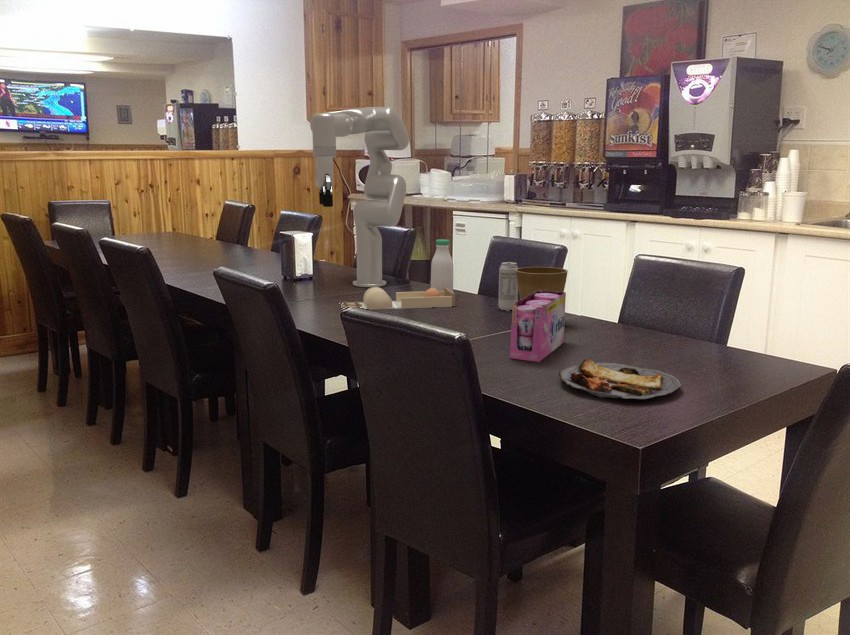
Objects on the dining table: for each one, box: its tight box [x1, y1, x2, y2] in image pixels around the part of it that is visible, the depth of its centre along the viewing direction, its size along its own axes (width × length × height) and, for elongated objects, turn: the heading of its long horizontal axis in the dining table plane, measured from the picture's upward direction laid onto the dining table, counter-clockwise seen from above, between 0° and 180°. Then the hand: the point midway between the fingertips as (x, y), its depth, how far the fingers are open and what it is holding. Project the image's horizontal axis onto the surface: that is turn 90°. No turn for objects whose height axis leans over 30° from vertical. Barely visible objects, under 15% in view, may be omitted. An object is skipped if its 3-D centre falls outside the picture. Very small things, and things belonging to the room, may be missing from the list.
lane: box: [338, 287, 456, 311], centre depth 251 cm, size 11×36×8 cm, turn 102°
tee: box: [340, 300, 362, 308], centre depth 248 cm, size 7×7×1 cm
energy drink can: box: [497, 261, 519, 312], centre depth 244 cm, size 6×6×15 cm
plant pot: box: [516, 266, 568, 300], centre depth 224 cm, size 15×15×16 cm
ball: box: [425, 287, 440, 297], centre depth 253 cm, size 5×5×5 cm
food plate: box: [558, 358, 682, 400], centre depth 165 cm, size 25×23×4 cm
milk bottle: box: [430, 238, 454, 292], centre depth 263 cm, size 8×8×20 cm
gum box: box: [509, 290, 567, 363], centre depth 194 cm, size 24×8×14 cm, turn 155°
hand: (326, 205), depth 254 cm, fingers open, 9 cm apart
